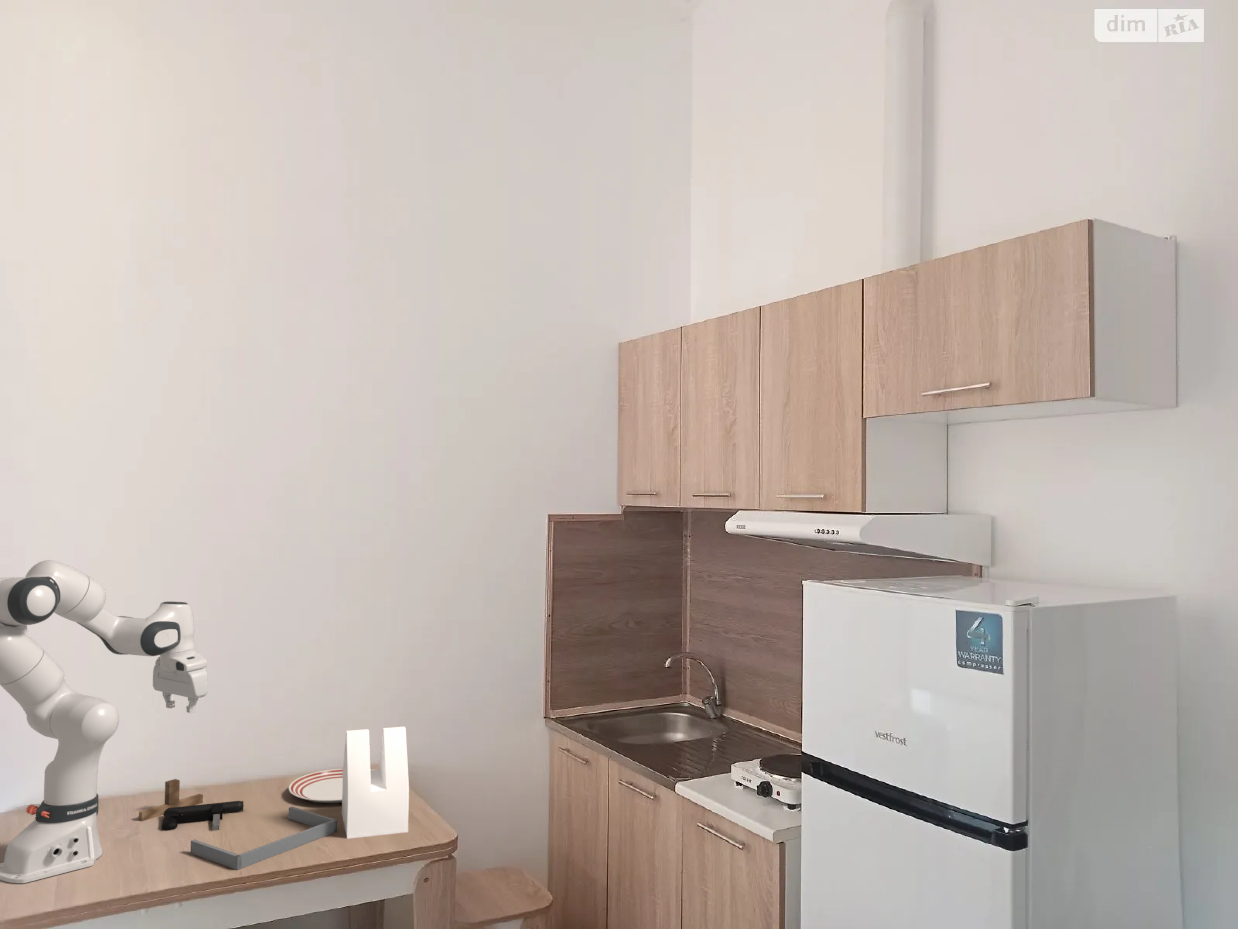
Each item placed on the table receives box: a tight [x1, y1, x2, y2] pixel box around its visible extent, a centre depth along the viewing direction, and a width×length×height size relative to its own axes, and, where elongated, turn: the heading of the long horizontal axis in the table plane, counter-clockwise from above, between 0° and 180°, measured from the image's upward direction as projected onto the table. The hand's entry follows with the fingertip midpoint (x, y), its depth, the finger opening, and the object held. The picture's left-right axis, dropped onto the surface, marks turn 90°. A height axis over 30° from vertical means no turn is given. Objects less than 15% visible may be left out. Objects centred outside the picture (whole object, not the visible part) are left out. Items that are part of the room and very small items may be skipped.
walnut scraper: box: [138, 778, 204, 822], centre depth 261 cm, size 18×2×8 cm, turn 148°
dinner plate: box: [288, 768, 343, 804], centre depth 278 cm, size 28×27×3 cm
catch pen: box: [190, 806, 339, 870], centre depth 239 cm, size 30×18×3 cm, turn 148°
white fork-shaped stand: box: [341, 726, 410, 840], centre depth 255 cm, size 19×15×25 cm
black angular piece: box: [161, 800, 245, 832], centre depth 253 cm, size 3×20×16 cm
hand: (180, 710), depth 259 cm, fingers open, 8 cm apart
